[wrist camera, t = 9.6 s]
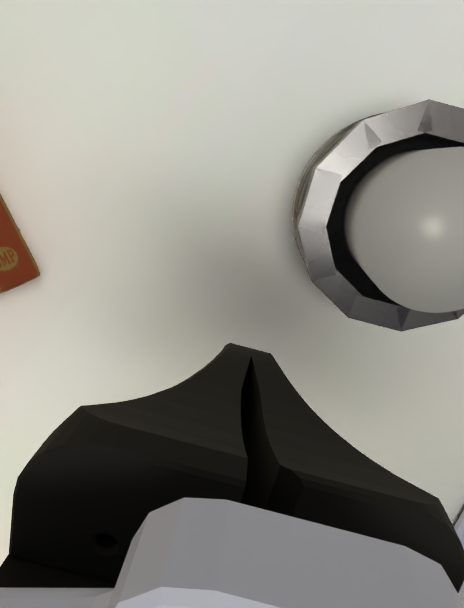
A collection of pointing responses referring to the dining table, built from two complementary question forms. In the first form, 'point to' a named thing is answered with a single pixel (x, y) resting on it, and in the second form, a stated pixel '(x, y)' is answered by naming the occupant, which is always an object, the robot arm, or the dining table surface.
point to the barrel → (333, 191)
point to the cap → (411, 227)
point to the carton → (13, 254)
